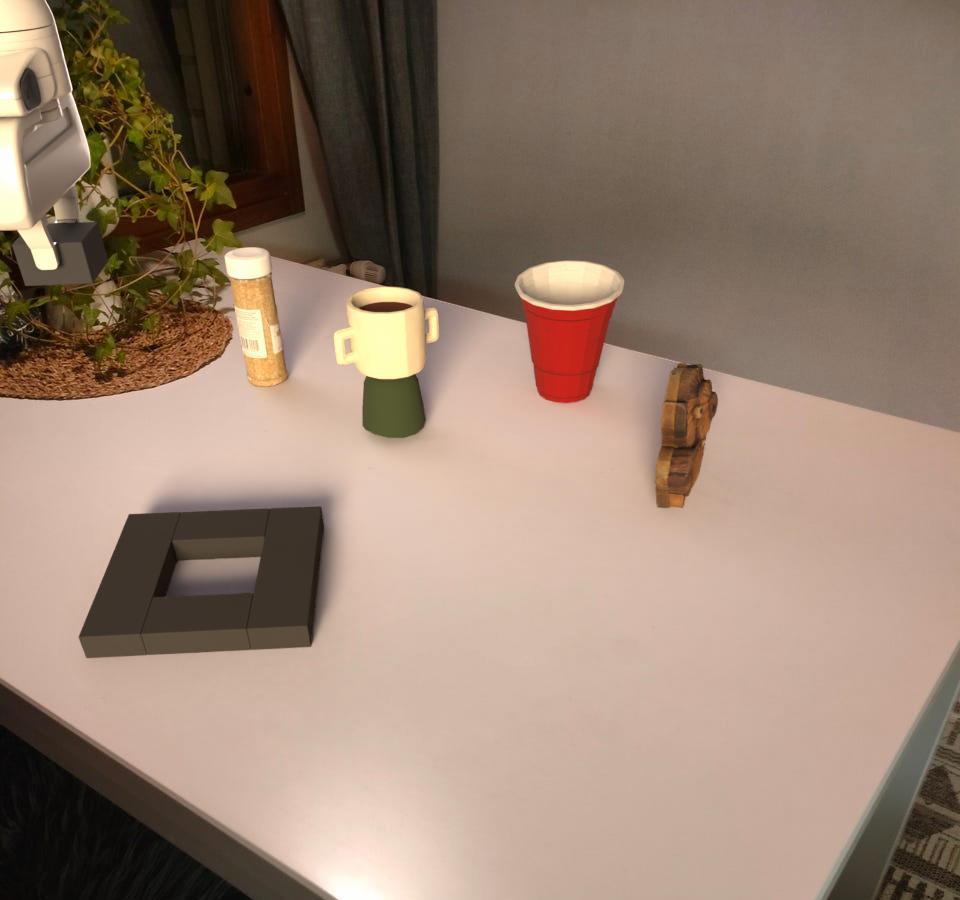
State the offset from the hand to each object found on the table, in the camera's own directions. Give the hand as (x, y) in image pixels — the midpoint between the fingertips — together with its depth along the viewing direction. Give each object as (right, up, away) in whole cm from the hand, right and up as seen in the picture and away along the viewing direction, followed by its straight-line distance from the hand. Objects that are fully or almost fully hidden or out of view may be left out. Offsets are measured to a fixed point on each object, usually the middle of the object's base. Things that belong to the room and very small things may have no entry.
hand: (61, 253), depth 81 cm
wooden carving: (+55, -20, +3) cm, 59 cm away
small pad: (0, -1, +1) cm, 2 cm away
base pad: (+16, -30, -9) cm, 35 cm away
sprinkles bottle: (+13, -5, +20) cm, 25 cm away
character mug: (+28, -13, +11) cm, 33 cm away
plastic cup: (+46, -8, +17) cm, 50 cm away
